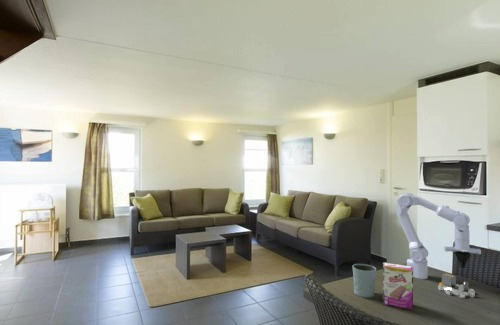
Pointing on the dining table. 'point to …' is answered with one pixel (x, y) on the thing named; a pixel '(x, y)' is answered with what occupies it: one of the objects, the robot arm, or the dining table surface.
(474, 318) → the dining table surface
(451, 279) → the link block
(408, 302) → the candy bar box
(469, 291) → the sprocket
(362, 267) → the teal cup
